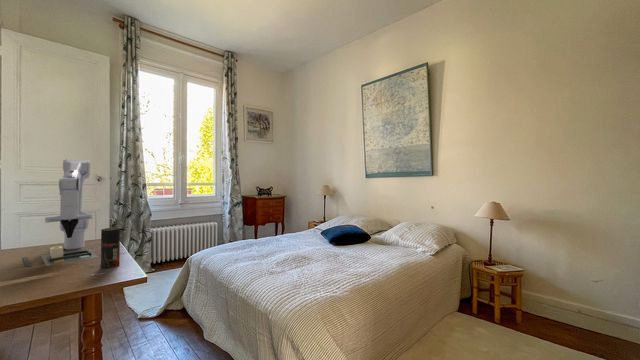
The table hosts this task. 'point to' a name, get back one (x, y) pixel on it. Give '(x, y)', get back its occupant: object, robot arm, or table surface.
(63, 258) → the panel
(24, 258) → the dark gray bar
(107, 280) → the table surface
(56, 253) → the toggle
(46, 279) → the table surface
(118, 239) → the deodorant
